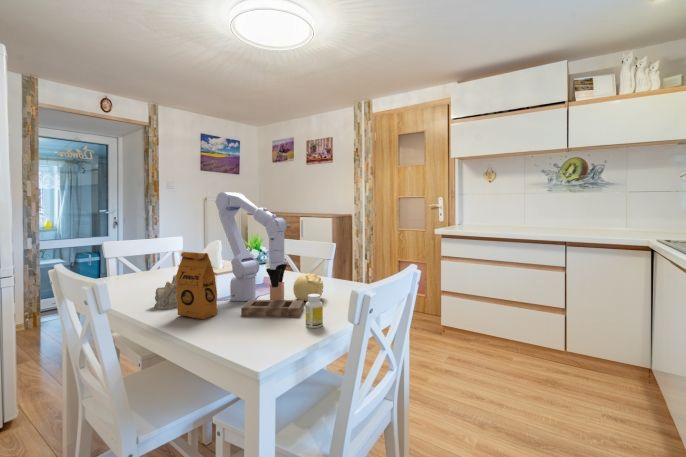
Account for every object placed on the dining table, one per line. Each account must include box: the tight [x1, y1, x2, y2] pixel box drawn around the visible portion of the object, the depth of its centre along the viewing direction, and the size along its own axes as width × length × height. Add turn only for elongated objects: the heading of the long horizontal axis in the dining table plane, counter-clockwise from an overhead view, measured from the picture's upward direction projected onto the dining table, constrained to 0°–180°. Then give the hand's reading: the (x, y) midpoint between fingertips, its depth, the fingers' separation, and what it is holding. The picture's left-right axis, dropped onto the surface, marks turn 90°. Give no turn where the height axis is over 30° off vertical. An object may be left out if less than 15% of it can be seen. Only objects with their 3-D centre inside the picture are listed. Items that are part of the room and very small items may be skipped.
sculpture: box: [292, 272, 324, 302], centre depth 142 cm, size 12×12×11 cm
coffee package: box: [175, 251, 218, 320], centre depth 121 cm, size 10×12×22 cm
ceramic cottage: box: [154, 274, 178, 310], centre depth 137 cm, size 16×16×15 cm
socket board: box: [240, 299, 305, 318], centre depth 126 cm, size 20×10×3 cm, turn 88°
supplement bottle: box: [305, 294, 324, 329], centre depth 112 cm, size 5×5×10 cm
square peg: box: [269, 281, 285, 300], centre depth 136 cm, size 4×4×8 cm
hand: (277, 284), depth 136 cm, fingers open, 7 cm apart
